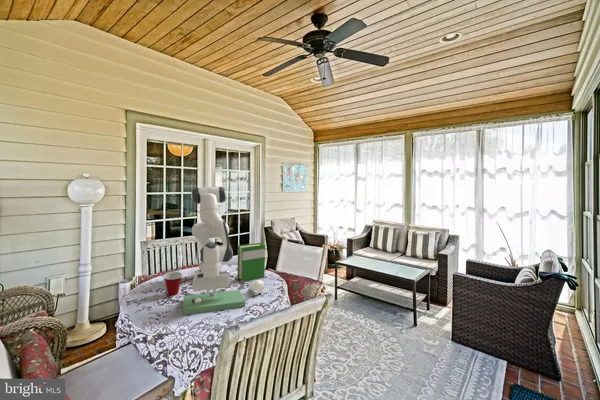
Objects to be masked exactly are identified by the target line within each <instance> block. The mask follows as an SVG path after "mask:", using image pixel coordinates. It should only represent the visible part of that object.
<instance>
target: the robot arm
mask: <svg viewBox="0 0 600 400" xmlns="http://www.w3.org/2000/svg"><path fill="white" fill-rule="evenodd" d="M227 197H228V193H227V191H226V189H225V188H224V187H223V186H204V187H194V188H193V189H192V190H191V193H190V198H191V200H192V203H194V204H196V205H199V218H200V221H201V222H198V223H195V224H193V226H192V228H191V234H192V236H193V237H194V238H195V239H197V241H199V243H200V245H201V248H200V250H199V253H200V254H199V255H200V257H199V258H200V259H199V261H201V264H200V265H199V266H198V270H196V271H194V276H193V278H192V285H191V289H192V291H194V292H197V291H204V290H205V291H206V292H207V293H208V297H211V296H214V293H215V292H217V289H224V288H225V289H226V288H230V285H231V284H230V277H231V273H230V271H228V270H225V271H224V270H223V271H222V263H228V262H229V261H231V260H232V259H233V256H234V252H233V248H232V245H231V241H230V237H229V233H230V227H229V225H228V224H227V223H226V221H225V219H224V218H222V217H221V215H220V212H219V211H220V210H219V204H222V203H224V202H226V200H227ZM219 238H221V241H222V244H221V245H219V244H218V243H217V242H213V241H212V240H211V239H219ZM210 290H213V291H212V292H210Z"/></svg>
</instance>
